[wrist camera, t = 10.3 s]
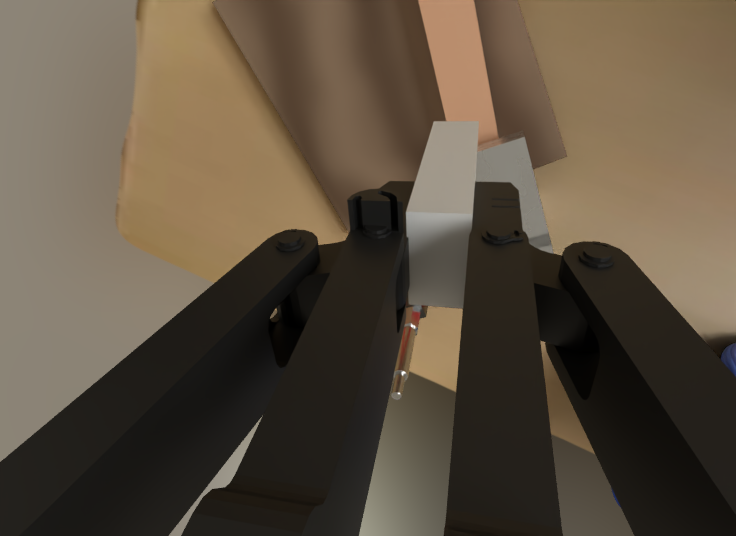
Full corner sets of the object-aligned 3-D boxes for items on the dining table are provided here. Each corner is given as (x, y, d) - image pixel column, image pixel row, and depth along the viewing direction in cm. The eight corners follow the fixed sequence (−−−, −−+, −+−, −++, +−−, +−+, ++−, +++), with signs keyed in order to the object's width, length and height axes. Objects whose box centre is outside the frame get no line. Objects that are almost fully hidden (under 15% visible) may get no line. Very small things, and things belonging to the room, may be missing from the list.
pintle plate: (462, -168, 26) (461, -175, 25) (564, 148, 35) (568, 158, 34) (221, 0, 34) (209, 3, 32) (355, 229, 42) (350, 240, 41)
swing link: (380, -112, 27) (369, -119, 24) (465, -149, 25) (464, -161, 23) (451, 181, 36) (450, 201, 33) (517, 167, 34) (521, 187, 32)
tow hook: (338, 235, 44) (379, 313, 47) (292, 320, 33) (350, 413, 37) (423, 205, 40) (460, 292, 44) (403, 289, 30) (455, 394, 33)
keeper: (462, 125, 35) (460, 157, 30) (516, 106, 34) (524, 136, 29) (496, 236, 40) (500, 280, 35) (545, 223, 39) (557, 268, 33)
